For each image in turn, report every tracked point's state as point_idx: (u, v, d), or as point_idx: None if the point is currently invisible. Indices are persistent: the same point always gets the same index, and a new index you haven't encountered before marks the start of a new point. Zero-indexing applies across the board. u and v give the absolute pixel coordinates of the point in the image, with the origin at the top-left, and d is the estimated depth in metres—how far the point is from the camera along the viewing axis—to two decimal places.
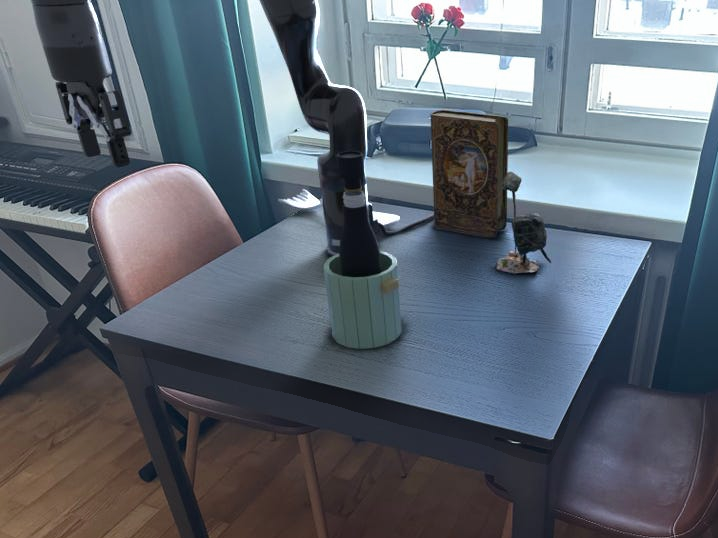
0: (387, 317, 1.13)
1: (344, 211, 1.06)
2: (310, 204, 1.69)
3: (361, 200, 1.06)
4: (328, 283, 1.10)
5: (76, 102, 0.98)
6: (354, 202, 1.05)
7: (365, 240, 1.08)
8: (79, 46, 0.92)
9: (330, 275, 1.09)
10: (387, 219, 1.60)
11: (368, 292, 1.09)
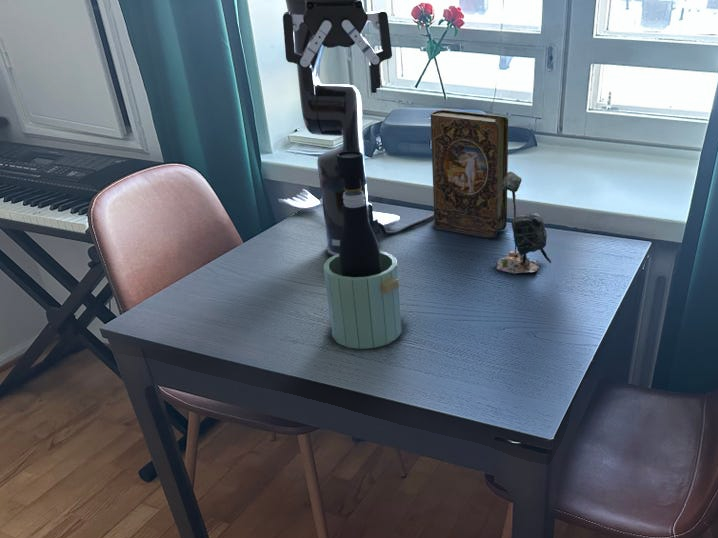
0: (387, 317, 1.13)
1: (344, 211, 1.06)
2: (310, 204, 1.69)
3: (361, 200, 1.06)
4: (328, 283, 1.10)
5: (329, 30, 0.93)
6: (354, 202, 1.05)
7: (365, 240, 1.08)
8: None
9: (330, 275, 1.09)
10: (387, 219, 1.60)
11: (368, 292, 1.09)
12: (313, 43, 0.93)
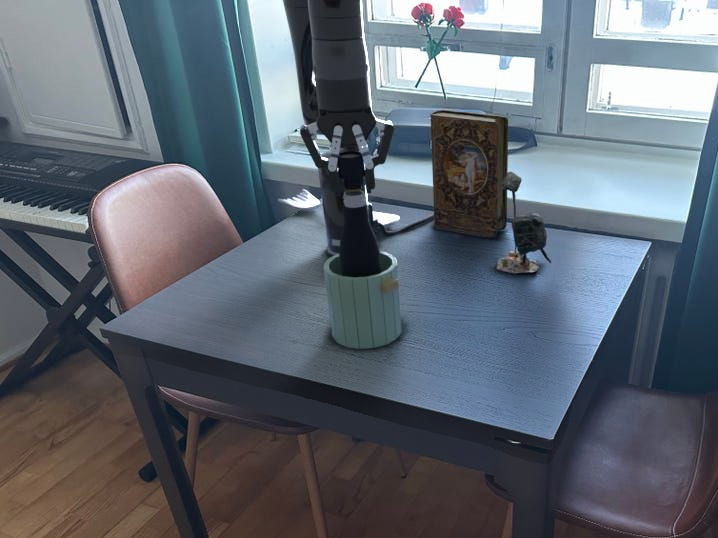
0: (387, 317, 1.13)
1: (344, 211, 1.06)
2: (310, 204, 1.69)
3: (361, 200, 1.06)
4: (328, 283, 1.10)
5: (342, 132, 1.00)
6: (354, 202, 1.05)
7: (365, 240, 1.08)
8: (368, 75, 0.97)
9: (330, 275, 1.09)
10: (387, 219, 1.60)
11: (368, 292, 1.09)
12: (333, 149, 1.01)
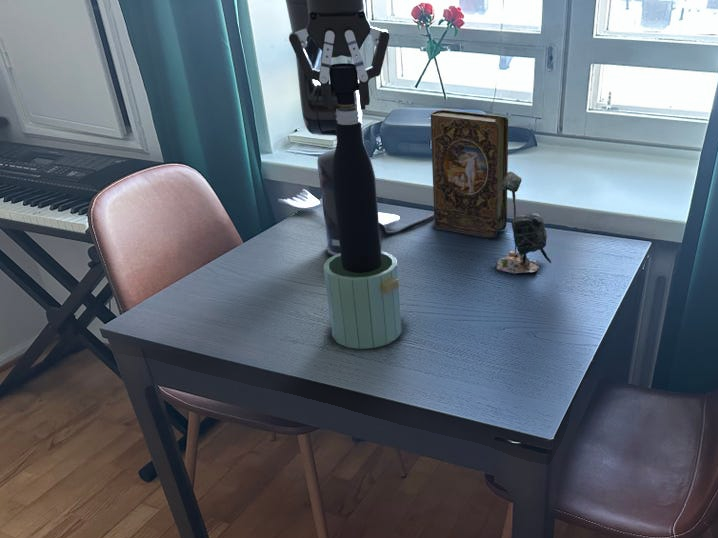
0: (387, 317, 1.13)
1: (337, 129, 1.00)
2: (310, 204, 1.69)
3: (355, 117, 0.99)
4: (328, 283, 1.10)
5: (334, 38, 0.93)
6: (348, 119, 0.99)
7: (359, 161, 1.02)
8: None
9: (330, 275, 1.09)
10: (387, 219, 1.60)
11: (368, 292, 1.09)
12: (324, 57, 0.94)
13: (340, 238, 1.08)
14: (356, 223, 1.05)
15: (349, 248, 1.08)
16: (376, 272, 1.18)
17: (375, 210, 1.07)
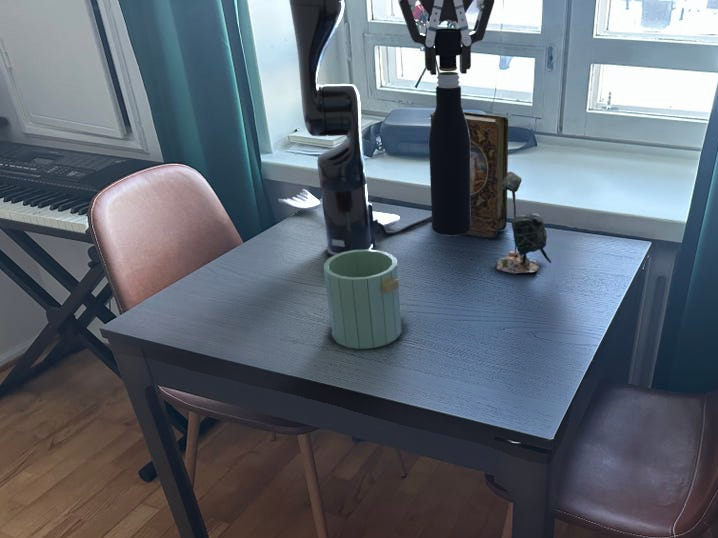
0: (387, 317, 1.13)
1: (438, 92, 1.03)
2: (310, 204, 1.69)
3: (456, 80, 1.03)
4: (328, 283, 1.10)
5: None
6: (449, 82, 1.02)
7: (458, 124, 1.05)
8: None
9: (330, 275, 1.09)
10: (387, 219, 1.60)
11: (368, 292, 1.09)
12: (432, 21, 0.98)
13: (433, 201, 1.12)
14: (451, 185, 1.09)
15: (442, 210, 1.11)
16: (376, 272, 1.18)
17: (469, 173, 1.10)
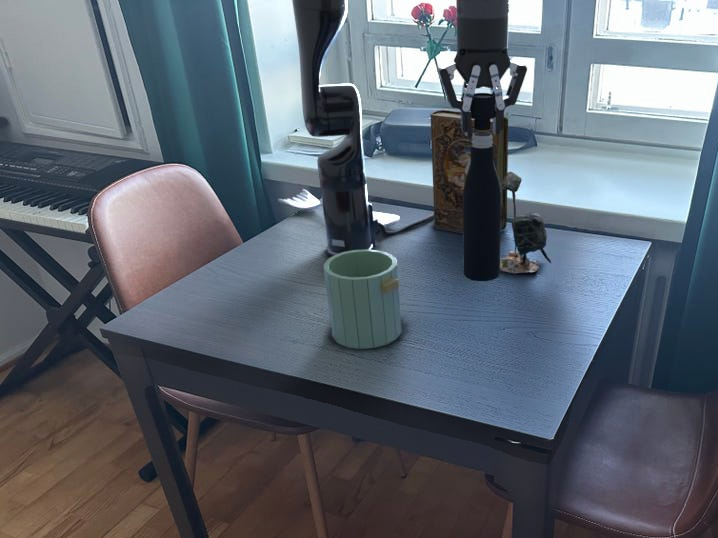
0: (387, 317, 1.13)
1: (473, 152, 1.10)
2: (310, 204, 1.69)
3: (490, 141, 1.10)
4: (328, 283, 1.10)
5: None
6: (484, 143, 1.09)
7: (491, 181, 1.12)
8: None
9: (330, 275, 1.09)
10: (387, 219, 1.60)
11: (368, 292, 1.09)
12: (469, 89, 1.04)
13: (466, 250, 1.19)
14: (483, 236, 1.16)
15: (474, 259, 1.18)
16: (376, 272, 1.18)
17: (499, 224, 1.17)
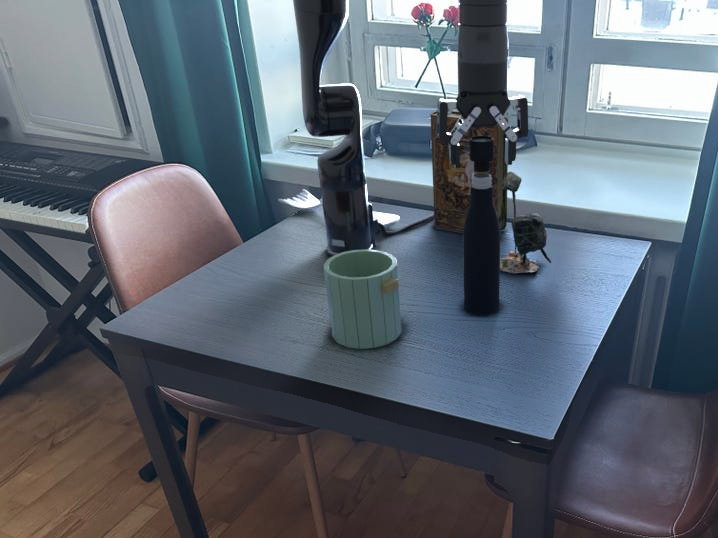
0: (387, 317, 1.13)
1: (472, 192, 1.14)
2: (310, 204, 1.69)
3: (489, 182, 1.13)
4: (328, 283, 1.10)
5: None
6: (483, 184, 1.13)
7: (490, 220, 1.15)
8: (507, 59, 1.04)
9: (330, 275, 1.09)
10: (387, 219, 1.60)
11: (368, 292, 1.09)
12: (464, 125, 1.07)
13: (466, 285, 1.22)
14: (483, 272, 1.19)
15: (474, 294, 1.22)
16: (376, 272, 1.18)
17: (499, 261, 1.21)
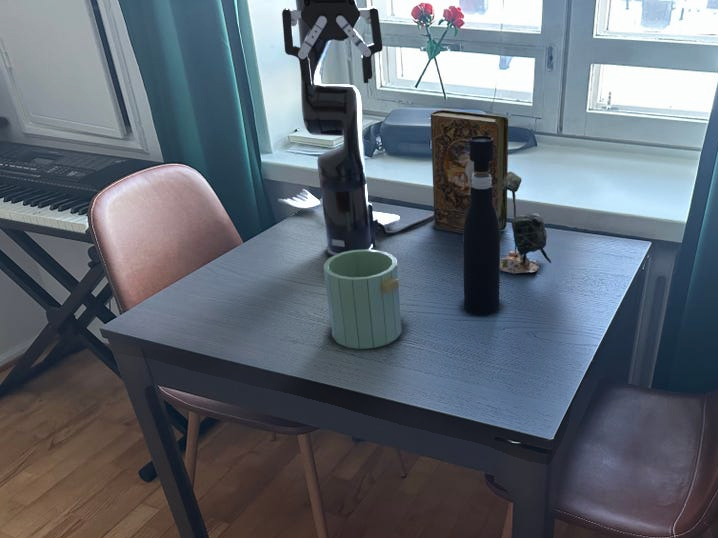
0: (387, 317, 1.13)
1: (472, 192, 1.14)
2: (310, 204, 1.69)
3: (489, 182, 1.13)
4: (328, 283, 1.10)
5: (324, 24, 1.01)
6: (483, 184, 1.13)
7: (490, 220, 1.15)
8: None
9: (330, 275, 1.09)
10: (387, 219, 1.60)
11: (368, 292, 1.09)
12: (310, 37, 1.01)
13: (466, 285, 1.22)
14: (483, 272, 1.19)
15: (474, 294, 1.22)
16: (376, 272, 1.18)
17: (499, 261, 1.21)
